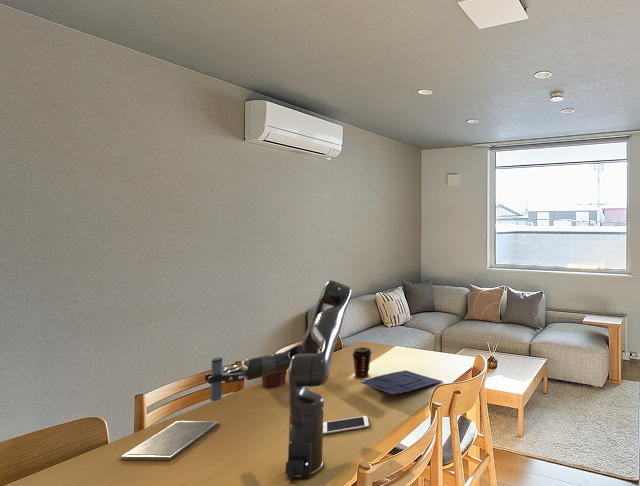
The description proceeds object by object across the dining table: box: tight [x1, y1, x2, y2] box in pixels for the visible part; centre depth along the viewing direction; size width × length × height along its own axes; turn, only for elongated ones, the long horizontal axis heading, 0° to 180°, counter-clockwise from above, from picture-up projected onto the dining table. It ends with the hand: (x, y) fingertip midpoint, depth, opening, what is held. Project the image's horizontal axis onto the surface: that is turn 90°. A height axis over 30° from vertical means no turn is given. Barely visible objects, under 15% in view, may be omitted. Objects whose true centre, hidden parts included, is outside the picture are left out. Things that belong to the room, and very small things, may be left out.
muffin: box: [261, 368, 289, 389], centre depth 177 cm, size 12×11×10 cm
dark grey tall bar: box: [209, 357, 223, 402], centre depth 138 cm, size 3×3×14 cm
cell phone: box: [323, 415, 370, 435], centre depth 140 cm, size 8×16×1 cm, turn 111°
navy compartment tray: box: [359, 370, 443, 395], centre depth 176 cm, size 24×30×4 cm
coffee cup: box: [352, 346, 372, 380], centre depth 187 cm, size 9×8×13 cm
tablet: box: [121, 420, 220, 461], centre depth 129 cm, size 22×15×1 cm
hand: (207, 379), depth 136 cm, fingers closed on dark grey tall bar, 3 cm apart
